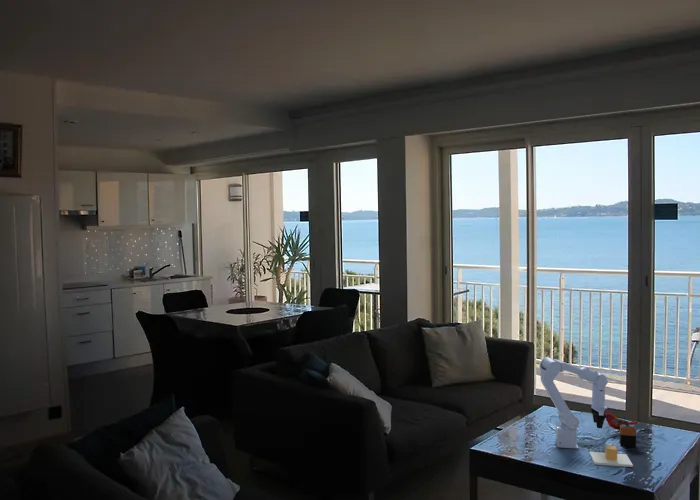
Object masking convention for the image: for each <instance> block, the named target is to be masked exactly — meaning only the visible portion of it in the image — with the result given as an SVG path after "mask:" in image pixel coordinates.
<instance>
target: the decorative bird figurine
mask: <svg viewBox="0 0 700 500" xmlns="http://www.w3.org/2000/svg"><path fill="white" fill-rule="evenodd" d="M606 415H607V417H606V418H605V421H606V423H607V425H608V426H609V427H610V428H612V429H613V430H612V431H613V432H612V433H616V432H617V433H620V425H626V426H629V425H636V424H638V423H640V421H628V420H625V419H623V418H619V417H616V416H615V415H614V414H613V413H611V412H606Z"/></svg>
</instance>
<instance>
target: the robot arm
mask: <svg viewBox="0 0 700 500" xmlns="http://www.w3.org/2000/svg"><path fill="white" fill-rule="evenodd" d="M539 368H540V381H541V382H540V383H542V386H543V388H544V389H545V391H546V392H547V395H548V396H549V397H550V399H551V401H552V403H553V404H554V406H555V408H556V410H557V414H558V419H559V422H560V426H556V427H555V444H556V446H557V447H558V448H562V449H563V448H565V449H578V450H579V446H578V442H577V439H578V438H577V434H578V433H577V430H578V427H579V426H580V420H579V418H578V417H576V416H575V415H574V413H573V412H572V410H570V408H569V407H568V405H567V403H566V401H565V400H564V398H563V396H562V394H561V392H560V391H559V389H558V387H557V386H556V384H555V382H554V380H555V379H556V377H557V376H558V375H559V374H560V373H563V372H564V371H565V372H569V373H572V374H575V375H577V376H578V378H579V379H580V380H583V381H586V382H589V383H592V386H591V387H592V389H591V392H592V393H591V406H590V407H589V409H590V411H591V414H592V420H593V422H594V423H595V424H596V428H597V429H603V426H604V423H605V421H606V417H607V415H606V414H607V413H606V414H605V412H604V411H605V410H608V406H605V405H606V386H607V385H608V382H609V380H608V378H607V376H606V375H604V374H603V373H602V372H599V371H598V370H592V369H590V367H588V366H585V367H584V366H582V367H577V366H575V365H572V364H570V363H567V362H565V361H563V360H559V359H557V358H551V357H548V356H546V357H545V356H544V357H543V358H542V359H541V361H540V363H539Z"/></svg>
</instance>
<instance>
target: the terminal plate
mask: <svg viewBox="0 0 700 500" xmlns="http://www.w3.org/2000/svg"><path fill="white" fill-rule="evenodd" d="M589 456H590V458H591V459H592V463H593V464H594V465H598V466H613V467H626V468H627V467H631V468H633V467H634V464H633V463H632V461H631V459H630V458H629V456H628V454H626V453H617V460H607V459H606V457H605V452H601V451H600V452H599V451H598V452H597V451H589Z"/></svg>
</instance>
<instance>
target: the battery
mask: <svg viewBox="0 0 700 500" xmlns="http://www.w3.org/2000/svg"><path fill="white" fill-rule="evenodd" d="M619 444H620V447H627V448H628V447H629V448H636V447H637V428H636V426H635V424H632V425H629V426H626V425H620V432H619Z"/></svg>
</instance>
